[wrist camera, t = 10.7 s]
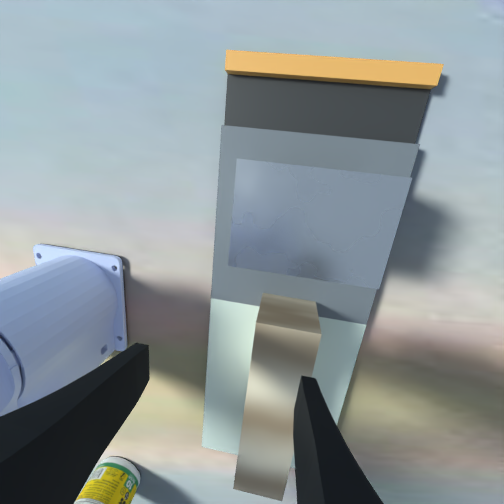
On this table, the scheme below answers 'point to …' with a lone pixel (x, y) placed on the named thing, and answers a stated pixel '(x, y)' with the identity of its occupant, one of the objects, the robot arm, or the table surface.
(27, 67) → the table surface
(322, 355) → the board
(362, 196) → the tunnel
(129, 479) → the supplement bottle
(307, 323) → the bar
